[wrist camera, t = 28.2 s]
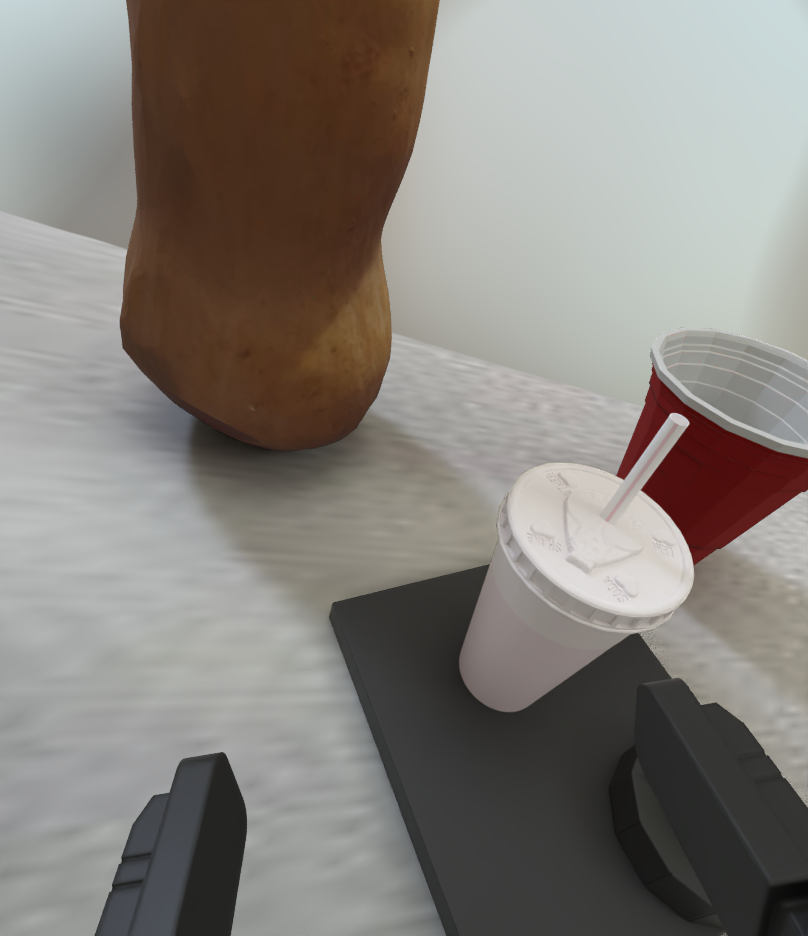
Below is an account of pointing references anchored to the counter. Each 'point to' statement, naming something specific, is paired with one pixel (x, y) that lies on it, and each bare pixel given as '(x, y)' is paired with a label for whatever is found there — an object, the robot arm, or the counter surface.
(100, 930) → the robot arm
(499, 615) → the smoothie
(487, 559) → the counter surface
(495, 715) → the scale
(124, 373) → the counter surface
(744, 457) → the plastic cup
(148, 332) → the butternut squash
